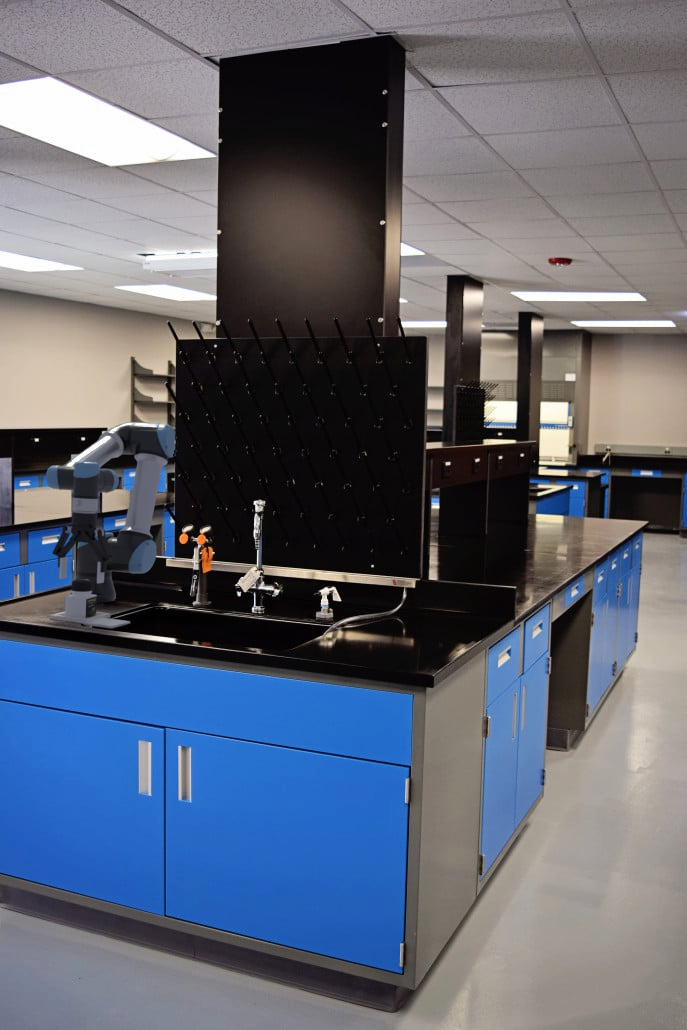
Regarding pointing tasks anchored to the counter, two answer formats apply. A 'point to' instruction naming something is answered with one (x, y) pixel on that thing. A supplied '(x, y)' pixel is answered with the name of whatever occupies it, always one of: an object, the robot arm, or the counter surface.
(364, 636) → the counter surface
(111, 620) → the pad
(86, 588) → the medicine bottle
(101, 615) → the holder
